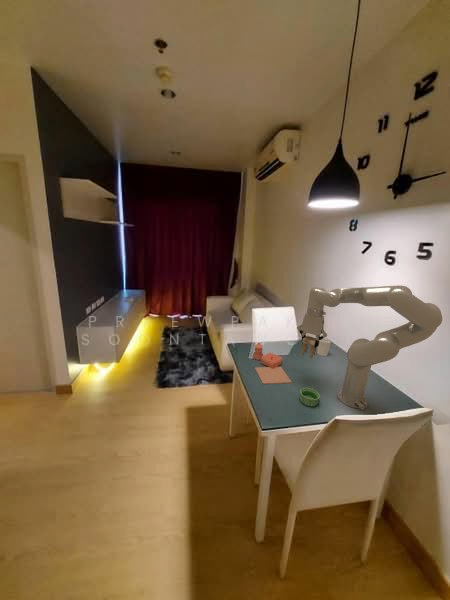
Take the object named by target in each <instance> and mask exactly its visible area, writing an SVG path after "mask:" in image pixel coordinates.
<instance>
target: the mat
mask: <svg viewBox="0 0 450 600" xmlns="http://www.w3.org/2000/svg"><path fill="white" fill-rule="evenodd" d="M254 369H255V371H256V374H257V375H258V378H259V380H260V382H261V384H262V385H277V384H278V385H279V384H280V385H282V384H292V383H293V381H292V380H291V379H290V377H289V376H288V375H287V373H286V372H285V370H284V368H283V367H282V366H277V367H275V368H274V369H273V368H271V367H268V366H264V367H263V366H261V367H260V366H259V367H257V366H256V367H254Z"/></svg>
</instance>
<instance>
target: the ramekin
mask: <svg viewBox="0 0 450 600" xmlns="http://www.w3.org/2000/svg"><path fill="white" fill-rule="evenodd" d="M320 398H321V395H320V393H319V392H318V391H317V390H315V389H314V388H310V387H303V388H301V389H300V391H299V401H300V402H301V403H302V404H303V405H304V406H307V407H315V406H317V405H318V404H319V399H320Z"/></svg>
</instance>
